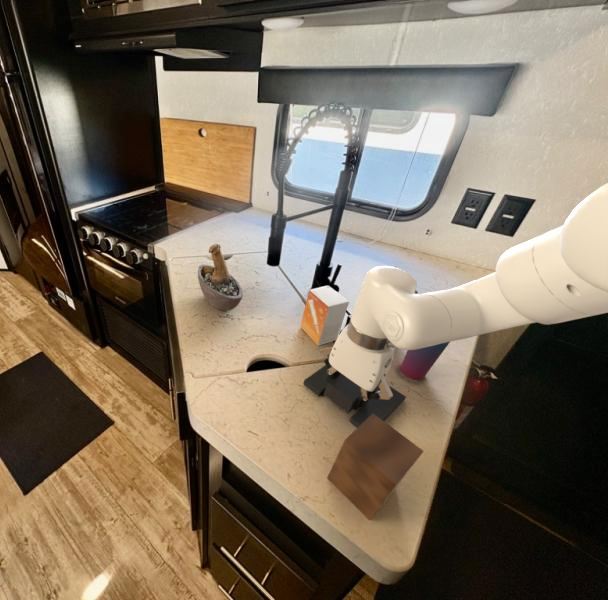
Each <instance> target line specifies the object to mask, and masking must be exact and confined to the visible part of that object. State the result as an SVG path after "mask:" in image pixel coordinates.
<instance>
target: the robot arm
mask: <svg viewBox="0 0 608 600" xmlns="http://www.w3.org/2000/svg"><path fill="white" fill-rule="evenodd" d="M417 287H418V283H417V280H416V278H415V277H414V276H413V275H412V274H411V273H409V272H408V271H406V270H404V269H401V268H398V267H395V266H389V265H380V266H375V267H373V268H371V269H369V270H368V271H367V272H366V274H365V276H364V279H363V282H362V284H361V287H360V290H359V294H358V296H357V298H356V302H355V305H354V307H353V310H352V314H351V316H350V318H349V322H348V324H346V325H345V326H344V327H343V329H342V330H341V331H340V332H339V334H338V337H337V340H335V342H334V344H333V346H329V347H328V346H327V347H324V348H322V349H320V354H321V357H322V359H323V362H324V364H325V365H326V366H327V369H328V370H327V373H328V377H327V380H326V381H327V383H328V382H329V381H330V380H332V379H333V378H334V377H336V376H337V375H338V374H340V373H342V374H343V375H344V376H346V377H347V378H348V379H350V380H351V381H353V382H354V383H356V384H357V385H358V386H360V387H361V395H359V396H358V399H357V401H356V403H355V405H354V409H353V410H354V411H355V412H357V411H358V410H359V409H361V408H364V407H365V406H366V405H367V403H368V401H369V399H370V400H378V399H383V400H389V399H390V398H391V397H393V393H392V391H391V389H390V387H389V386H390V385H389V383H388V380H387V377H388V375H389V372H390V369H391V367H392V363H393V360H394V356H395V351H396V350H399V349H401V350H403V351H404V350H406V351H407V350H415V349H420V348H425V347H429V346H434V345H438V344H442V343H446V342H450V341H451V342H455V341H459V340H464V339H469V338H472V337H473V338H474V337H477V336H481V335H485V334H489V333H494V332H498V331H503V330H507V329H512V328H516V327H521V326H526V325H531V324H536V323H538V324H541V325H547V326H549V325H555V324H561V323H566V322H570V321H575V320H580V319H583V318H584V319H585V318H588V317H593V316H594V317H595V316H598V315H599V316H600V315H603V314H607V313H608V182H607V183H605V184H603V185H602V186H600V187H598V188H597V189H595V190H594V191H593V192H592V193H590V194H589V195H588V196H586V197H585V198H584V199H583V200H582V201H581V202H580V203H578V204H577V205H576V206H575V207H574V208H573V209H572V211H571V213H570V214H569V215H568V216H567V217H566V219H565V221H564V224H562V225H560V226H557V227H556V228H554V229H551V230H548V231H547V232H543V233H542V234H540V235H537V236H536V237H533V238H531V239H529V240H526V241H524V242H521V243H519V244H517V245H515V246H512V247H510V248H509V249H507V250H505V252H503V253H502V254H501V255H500V257H499V258H498V260H497V263H496V265H495V271H494V272H492V273H490V274H487V275H485V276H483V277H480V278H478V279H475V280H472V281H470V282H467V283H464V284H462V285H459V286H456V287H453V288H448V289H444V290H436V291H430V292H425V293H418V294H415V291H417ZM451 342H450V343H451ZM326 386H327V385H326ZM377 386H379V388H380V390H375V388H376V387H377Z"/></svg>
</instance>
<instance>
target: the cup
mask: <svg viewBox="0 0 608 600" xmlns="http://www.w3.org/2000/svg"><path fill="white" fill-rule="evenodd" d="M451 342H452V341H450V342H446V343H442V344H438V345H434V346H429V347H425V348H420V349H415V350H406V353H405V355H404V358H403V360H402V363H401V365H400V367H399V368H400V371H401V373H402V374H403V375H404V376H405V377H407V378H408V379H412V380H415V381H420V380H423V379H424V378H425V377H426V375H428V373H429V372H430V370H431V369H432V367H433V366H434V365H435V363H436V362H437V360H438V359H439V358H440V356H441V355H442V353H443V352H444V351H445V350H446V348H447V347H448V346H449V345H450V343H451Z"/></svg>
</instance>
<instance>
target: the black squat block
mask: <svg viewBox="0 0 608 600" xmlns="http://www.w3.org/2000/svg"><path fill="white" fill-rule="evenodd" d="M359 395H361V387H360V386H358V385H357V384H356V383H354V382H353V381H351V380H350V379H348V378H347V377H346V376H344V375H343V374H342V373H340V374H338V375H337V376H336V377H334V378H333V379H332V380H330V381H329V382H328V383H327V386H326V389H325V392H323V396H325V397H326V398H327V399H328V400H330V401H331V402H332V403H334V404H335V405H336V406H338V407H339V408H340V409H341V410H342V411H344V412H345V413H346V414H350V413H351V412H352V411H353V410H354V405H355V403H356V401H357V399H358V396H359Z"/></svg>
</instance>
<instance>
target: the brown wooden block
mask: <svg viewBox="0 0 608 600" xmlns="http://www.w3.org/2000/svg"><path fill="white" fill-rule="evenodd" d="M423 453H424V450H423V449H422V448H420V447H419V446H418V445H417V444H415V443H414V442H412V441H411V440H409V439H408V438H407V437H405V436H404V435H403V434H402V433H401V432H399V431H398V430H396V429H395V428H394V427H393V426H391V425H390V424H388V423H387V422H386V421H385V420H384V421H383V420H382V419H380V418H379V417H378V416H376V415H375V414H374V413H373V414H372V415H371V416H370V417H369V418H367V419H366V420H365V421H364V422H363V423H362V424H361V425H360V426H359V427H358V428H357V427H356V429H355V430H354V431H352V433H350V434H349V435H348V436H347V437H346V438H345V439H344V440H343V442H342V445H341V447H340V449H339V451H338V453H337V456H336V458H335V460H334V462H333V464H332V467H331V468H330V471H329V473H328V475H327V477H326V479H328V481H329V482H331V484H332V485H334V486H335V487H336V489H338V491H340V493H342V495H344V497H346V498H347V499H348V501H350V503H352V505H353V506H355V508H356V509H358V510H359V511H360V512H361V514H363V515H364V516H365V517H366V518H367V519H368V521H370V520H372V518H373V517H374V516H375V515H376V513H378V511H379V510H380V508H381V507H382V505H384V503H386V501H387V500H388V498H389V497H390V496H391V495H392V494H393V492H394V491H395V490H396V488H398V486H399V485H400V483H401V481H403V479H404V478H405V476H406V475H407V474H408V472H409V471H410V470H411V469H412V468H413V466H414V465H415V464H416V462H417V461H418V459H419V458H420V457H421V455H422V454H423Z"/></svg>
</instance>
